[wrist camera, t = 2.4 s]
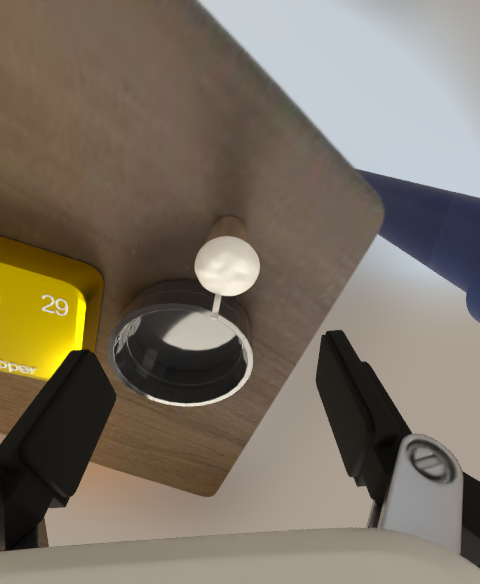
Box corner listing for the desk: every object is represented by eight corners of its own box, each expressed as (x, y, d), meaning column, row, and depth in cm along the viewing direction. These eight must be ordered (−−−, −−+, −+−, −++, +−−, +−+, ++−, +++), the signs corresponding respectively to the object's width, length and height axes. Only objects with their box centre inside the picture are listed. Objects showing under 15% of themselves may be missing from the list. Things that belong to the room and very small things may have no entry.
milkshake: (199, 253, 25) (181, 310, 17) (213, 201, 23) (200, 238, 14) (240, 265, 26) (244, 326, 18) (259, 217, 24) (273, 261, 15)
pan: (247, 273, 27) (250, 298, 22) (253, 370, 35) (255, 402, 31) (106, 283, 27) (82, 309, 23) (144, 377, 35) (132, 410, 31)
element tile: (-36, 330, 30) (-78, 360, 26) (-61, 214, 23) (-125, 230, 19) (94, 361, 33) (74, 392, 29) (107, 268, 26) (84, 292, 22)
